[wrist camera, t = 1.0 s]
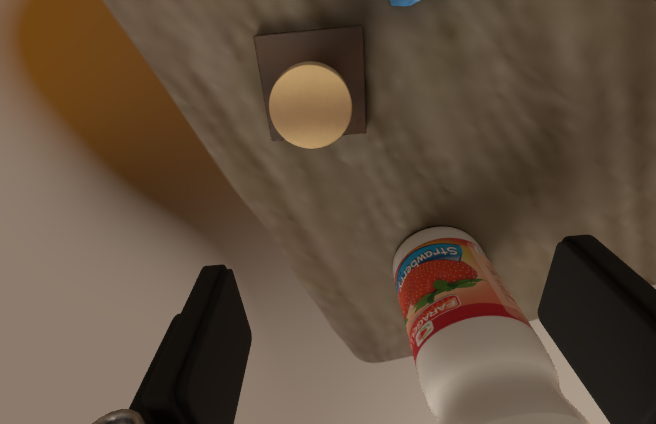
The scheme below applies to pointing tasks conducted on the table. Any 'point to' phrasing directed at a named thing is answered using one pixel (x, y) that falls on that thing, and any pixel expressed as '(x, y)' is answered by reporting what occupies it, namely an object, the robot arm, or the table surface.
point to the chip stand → (319, 46)
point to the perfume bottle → (403, 2)
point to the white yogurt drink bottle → (473, 337)
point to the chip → (310, 105)
